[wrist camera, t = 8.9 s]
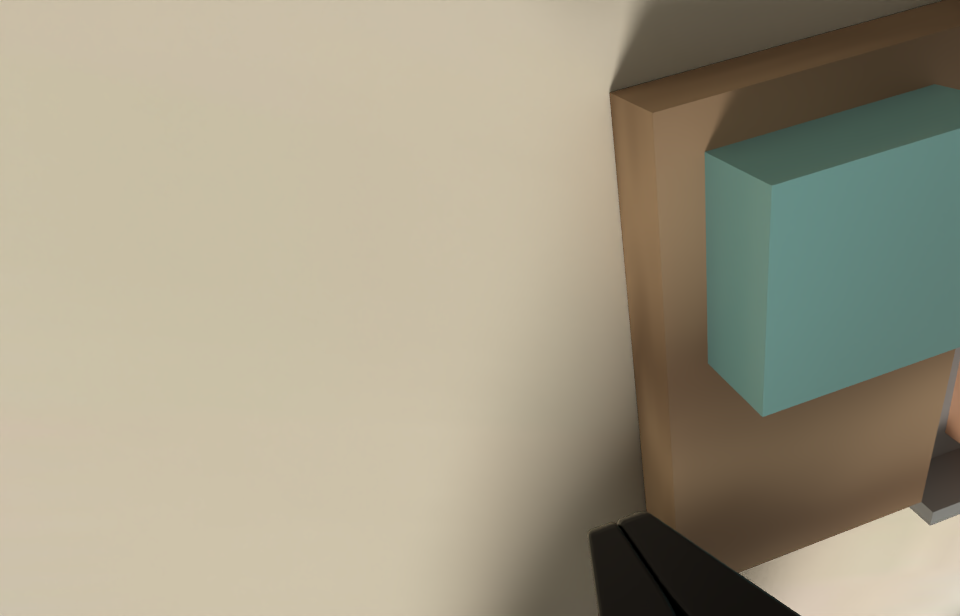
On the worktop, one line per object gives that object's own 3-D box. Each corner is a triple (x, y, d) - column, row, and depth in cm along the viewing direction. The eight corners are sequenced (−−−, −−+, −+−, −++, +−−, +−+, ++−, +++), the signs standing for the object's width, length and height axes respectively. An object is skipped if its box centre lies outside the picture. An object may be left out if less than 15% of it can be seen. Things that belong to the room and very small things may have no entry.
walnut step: (876, 462, 22) (921, 501, 20) (649, 546, 21) (679, 595, 19) (952, -2, 14) (1032, 5, 13) (609, 92, 13) (652, 112, 12)
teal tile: (900, 298, 16) (974, 341, 14) (708, 363, 15) (762, 417, 14) (934, 84, 13) (1032, 106, 12) (704, 152, 13) (772, 185, 11)
